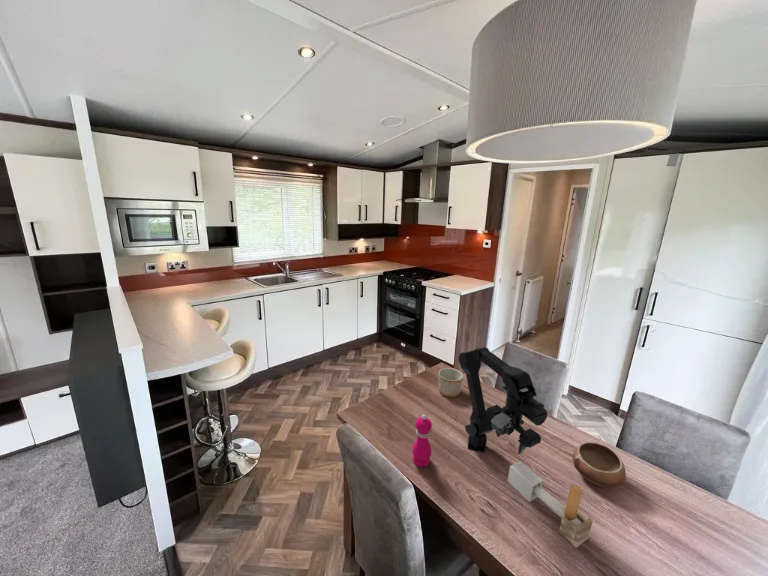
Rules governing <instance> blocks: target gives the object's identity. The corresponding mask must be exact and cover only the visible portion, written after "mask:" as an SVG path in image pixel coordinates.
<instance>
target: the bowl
mask: <svg viewBox="0 0 768 576" xmlns="http://www.w3.org/2000/svg"><path fill="white" fill-rule="evenodd" d="M572 463H573V466H574V468H575V469H576V471H577V472H578V473H579V475H580V476H582V477H583V478H584V479H586V480H587V481H589V482H590V483H592V484H594V485H596V486H599V487H603V488H615V487H618V486H620V485H621V484H622V483H624V481H625V479H626V474H627V473H626V472H627V471H626V467H625V464H624V462H623V460H622V458H621V457H620V456H619V454H618V453H617V452H616V451H615V450H613V448H611V447H609V446H607V445H605V444H603V443H599V442H594V441H584V442H582V443H580V444H578V445H577V446H576V447H575V449H574V451H573V454H572Z"/></svg>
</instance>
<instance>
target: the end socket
mask: <svg viewBox="0 0 768 576" xmlns="http://www.w3.org/2000/svg"><path fill="white" fill-rule="evenodd" d="M576 518H577V519H578V520H579V521H581V522H582V524H580V525H579V526H578V527H576V526H575V525H574V524H573V523H571V522H570V521H569V520H568V519H567V518H566V517H565V516H564V517H562V518H561V522H560V527H559V533H560V534H561V535H562V537H564V539H566V540H567V541H568V542H569V543H570V544H571V545H573V547H575V548H576V549H577V548H578V547H579V546H581V545H582V544H583V543H584V542H585V541H586V540H588V539H589V538H590V535H591V529H592V525H593V521H594V520H592V518H591V517H588V518H586V516H584V514H582V513H580V511H578V512H577V516H576Z"/></svg>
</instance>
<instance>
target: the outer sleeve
mask: <svg viewBox="0 0 768 576" xmlns="http://www.w3.org/2000/svg"><path fill="white" fill-rule="evenodd" d="M508 469H509V470H508V476H507V482H508V483H509V484H510V485H511V486H512V487H514V489H515V490H516V491H518V493H520V495H521V496H523V497H524V498H525V499H526V500H527V501H528V502H529V503H531V502H532V501H534V500H536V499H537V498H539V497H538V496H536V495H535V494H534V493H533V487H534V486H536V485H539V486H540V487H541V488H542V485H543V479H542V478H540V477H539V476H538V475H537V474H536V473H534V472H533V471H532V470H531V469H530V468H529V467H527V466H526V465H525V464H524V463H523V462H522V461H517V462H515V463H513V464H511V465H510V466H509V468H508Z"/></svg>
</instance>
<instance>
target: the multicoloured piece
mask: <svg viewBox="0 0 768 576" xmlns="http://www.w3.org/2000/svg"><path fill="white" fill-rule="evenodd" d="M533 493H534V494H535V495H536V496H538V497H537V498H538V499H540V501H542V502H543V503H544V504H545V505H546V506H547V507H548V508H550V509H551V511H552V512H554V513H555V514H556V515H557V516H558V517H560V518H561V519H562V517H564V516H565V517H566V518H567V519H568V520H569V521H570V522H571V523H573V524H574V525H575V526H576V527H578V526H579V525H580V524H582V522H581V521H579V520H578V519H577V518H576V516H577V512H579V509H580V508H579V507H580V503H581V502H580V501H581V499H582V498H581V497H582V494H583V489H582V488H581V487H580V486H578V485H577V484H570V485H569V490H568V495H567V498H566V499H567V500H566V504H565V506H563V505H562V504H561V503H560V502H558V501H557V500H556V499H555V497H553V496H552V495H551V494H549V493H548V492H547V491H546V489H545V490H544V488H543V487H542V486H541V487H540V486H539V485H536V486H534V487H533Z"/></svg>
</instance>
